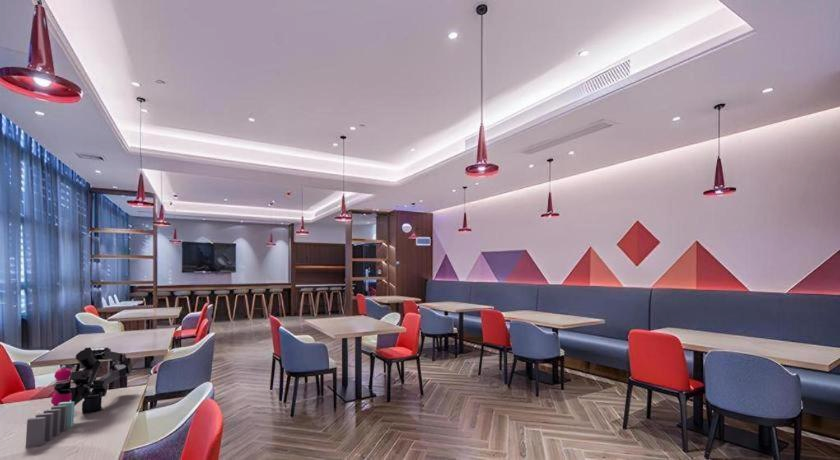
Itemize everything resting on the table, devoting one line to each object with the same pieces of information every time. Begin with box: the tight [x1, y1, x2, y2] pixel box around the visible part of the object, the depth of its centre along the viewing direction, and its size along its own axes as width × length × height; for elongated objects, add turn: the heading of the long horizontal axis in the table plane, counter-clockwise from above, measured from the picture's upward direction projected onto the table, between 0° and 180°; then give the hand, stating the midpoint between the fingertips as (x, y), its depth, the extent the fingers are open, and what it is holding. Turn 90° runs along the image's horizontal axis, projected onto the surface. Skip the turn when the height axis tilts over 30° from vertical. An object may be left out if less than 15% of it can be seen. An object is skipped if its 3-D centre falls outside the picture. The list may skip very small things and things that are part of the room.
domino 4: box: [50, 405, 68, 433], centre depth 162 cm, size 2×5×10 cm, turn 102°
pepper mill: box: [50, 364, 72, 407], centre depth 188 cm, size 7×7×20 cm
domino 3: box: [43, 408, 61, 438], centre depth 158 cm, size 2×5×10 cm, turn 102°
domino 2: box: [35, 412, 54, 442], centre depth 154 cm, size 2×5×10 cm, turn 102°
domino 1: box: [25, 417, 46, 448], centre depth 150 cm, size 2×5×10 cm, turn 102°
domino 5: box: [58, 401, 75, 429], centre depth 166 cm, size 2×5×10 cm, turn 102°
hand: (72, 406), depth 170 cm, fingers closed
